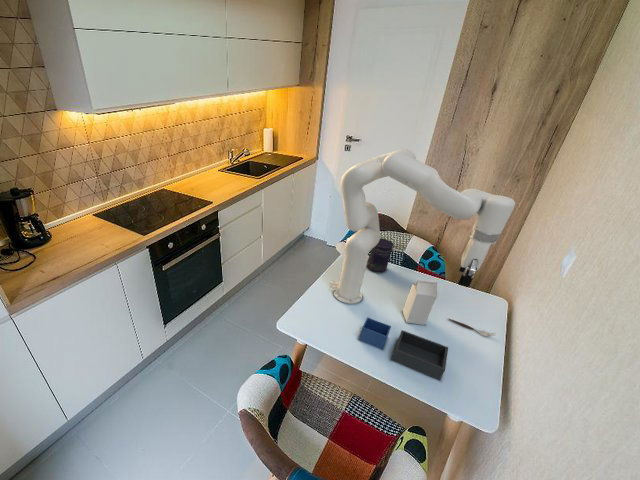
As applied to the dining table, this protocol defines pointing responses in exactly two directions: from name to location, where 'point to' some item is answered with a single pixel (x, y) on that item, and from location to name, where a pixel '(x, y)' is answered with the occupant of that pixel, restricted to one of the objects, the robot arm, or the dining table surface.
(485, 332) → the fork
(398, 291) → the dining table surface
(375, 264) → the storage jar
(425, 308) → the milk carton
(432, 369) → the base bin
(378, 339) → the nested bin
